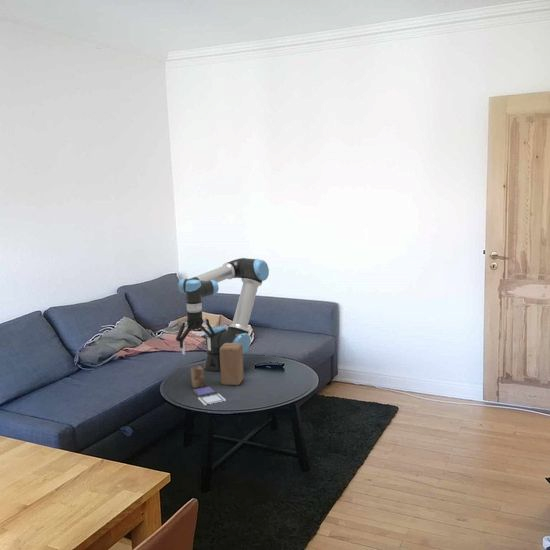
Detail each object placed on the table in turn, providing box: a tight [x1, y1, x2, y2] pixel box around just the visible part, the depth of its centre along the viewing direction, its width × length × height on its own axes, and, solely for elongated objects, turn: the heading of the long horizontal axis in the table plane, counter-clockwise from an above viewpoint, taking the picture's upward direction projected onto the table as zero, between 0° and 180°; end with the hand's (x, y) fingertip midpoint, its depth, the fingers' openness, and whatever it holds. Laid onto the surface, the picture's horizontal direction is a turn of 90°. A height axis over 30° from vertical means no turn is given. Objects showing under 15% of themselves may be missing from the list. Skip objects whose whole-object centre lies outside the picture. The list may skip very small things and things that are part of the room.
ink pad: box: [192, 386, 217, 398], centre depth 288 cm, size 9×9×1 cm
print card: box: [197, 393, 227, 406], centre depth 279 cm, size 11×10×1 cm
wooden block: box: [220, 343, 245, 386], centre depth 300 cm, size 10×10×20 cm
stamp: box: [190, 365, 205, 390], centre depth 296 cm, size 5×5×10 cm
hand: (196, 351), depth 293 cm, fingers open, 13 cm apart
